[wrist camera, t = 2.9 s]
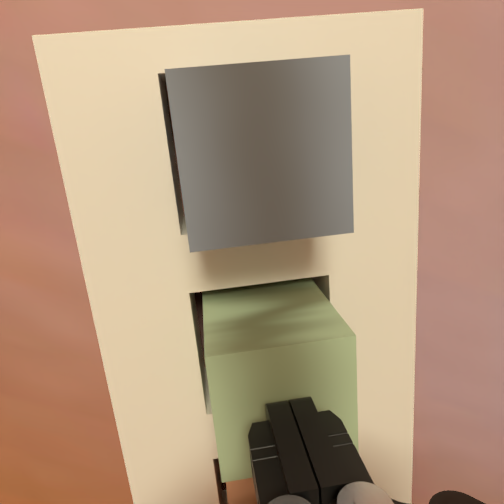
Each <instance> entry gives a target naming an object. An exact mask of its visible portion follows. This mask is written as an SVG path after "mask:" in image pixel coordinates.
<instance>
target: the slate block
mask: <svg viewBox="0 0 504 504" xmlns="http://www.w3.org/2000/svg"><path fill="white" fill-rule="evenodd" d="M164 70H165V77H166V84H167V91H168V98H169V106H170V113H171V120H172V127H173V134H174V142H175V149H176V156H177V163H178V170H179V178H180V185H181V192H182V199H183V206H184V214H185V221H186V228H187V235H188V243H189V250H190V253H191V252H199V251H207V250H215V249H223V248H232V247H240V246H248V245H256V244H265V243H273V242H281V241H289V240H298V239H306V238H314V237H322V236H330V235H339V234H347V233H354V215H353V168H352V121H351V74H350V54H349V55H337V56H324V57H311V58H299V59H286V60H273V61H261V62H248V63H235V64H223V65H210V66H198V67H185V68H172V69H164Z"/></svg>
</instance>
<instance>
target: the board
mask: <svg viewBox="0 0 504 504" xmlns="http://www.w3.org/2000/svg"><path fill="white" fill-rule="evenodd" d="M32 39H33V44H34V48H35V53H36V58H37V62H38V67H39V71H40V76H41V81H42V85H43V90H44V94H45V99H46V103H47V108H48V113H49V117H50V122H51V126H52V131H53V136H54V140H55V145H56V149H57V154H58V158H59V163H60V168H61V172H62V177H63V181H64V186H65V191H66V195H67V200H68V204H69V209H70V214H71V218H72V223H73V227H74V232H75V236H76V241H77V246H78V250H79V255H80V259H81V264H82V269H83V273H84V278H85V282H86V287H87V291H88V296H89V301H90V305H91V310H92V314H93V319H94V324H95V328H96V333H97V337H98V342H99V347H100V351H101V356H102V360H103V365H104V369H105V374H106V379H107V383H108V388H109V392H110V397H111V402H112V406H113V411H114V415H115V420H116V424H117V429H118V434H119V438H120V443H121V447H122V452H123V457H124V461H125V466H126V470H127V475H128V480H129V484H130V489H131V493H132V498H133V502H134V504H228V501H227V490H222V486H221V479H220V472H219V465H218V452H217V444H216V437H215V430H214V423H213V415H212V408H211V401H210V394H209V387H208V379H207V372H206V368H205V364H204V357H203V350H202V343H201V336H200V328H199V321H198V314H197V307H196V300H195V292H202V291H210V290H217V289H225V288H233V287H240V286H248V285H256V284H263V283H271V282H279V281H286V280H294V279H302V278H309V277H311V279H312V280H313V281H314V283H315V284H316V285H317V286H318V288H319V289H320V290H321V291H322V293H323V294H324V295H325V297H326V298H327V299H328V300H329V302H330V303H331V304H332V305H333V307H334V308H335V309H336V311H337V312H338V313H339V314H340V316H341V317H342V318H343V319H344V321H345V322H346V323H347V325H348V326H349V327H350V328H351V330H352V331H353V332H354V333H355V335H356V357H357V404H358V451H359V455H360V457H361V459H362V461H363V463H364V465H365V467H366V469H367V471H368V473H369V475H370V477H371V479H372V481H373V482H374V484H375V485H377V486H379V487H380V488H382V489H383V490H384V491H385V492H386V493H387V494H388V495H389V496H390V498H391V499H394V500H396V501H399V502H402V503H408V504H412V463H413V421H414V380H415V338H416V297H417V255H418V213H419V172H420V130H421V88H422V47H423V8H420V9H406V10H391V11H377V12H362V13H348V14H333V15H319V16H305V17H290V18H276V19H261V20H247V21H232V22H218V23H204V24H189V25H175V26H160V27H146V28H131V29H117V30H103V31H88V32H74V33H59V34H45V35H32ZM349 54H350V74H351V121H352V168H353V215H354V233H347V234H339V235H330V236H322V237H314V238H306V239H298V240H289V241H281V242H273V243H265V244H256V245H248V246H240V247H232V248H223V249H215V250H207V251H199V252H191V253H190V250H189V243H188V235H187V228H186V221H185V216H184V214H183V207H182V199H181V192H180V185H179V178H178V171H177V164H176V156H175V149H174V142H173V135H172V128H171V121H170V113H169V106H168V99H167V92H166V86H167V84H166V77H165V70H164V69H172V68H185V67H198V66H210V65H223V64H235V63H248V62H261V61H273V60H286V59H299V58H311V57H324V56H337V55H349Z"/></svg>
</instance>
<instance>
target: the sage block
mask: <svg viewBox="0 0 504 504" xmlns="http://www.w3.org/2000/svg"><path fill="white" fill-rule="evenodd" d="M202 299H203V329H204V358H205V365H206V372H207V379H208V387H209V394H210V401H211V408H212V415H213V423H214V430H215V437H216V444H217V452H218V459H219V466H220V473H221V480H222V483H224V482H230V481H236V480H241V479H247V478H253V477H252V469H251V460H250V451H249V442H248V433H249V431H250V428H251V425H252V423H255V422H261V421H266V410H265V404H267V403H273V402H279V401H285V400H287V401H288V400H291V399H297V398H303V397H311V398H312V400H313V402H314V404H315V407H316V409H317V411H318V412H320V411H326V410H330V411H331V412H333V413H334V414H335V415H336V416H338V417H339V418H340V419H341V420H342V422H343V424H344V426H345V428H346V430H347V432H348V434H349V436H350V438H351V440H352V442H353V444H354V445H355V447H356V449H357V451H358V404H357V357H356V335H355V333H354V332H353V331H352V330H351V328H350V327H349V326H348V325H347V323H346V322H345V321H344V319H343V318H342V317H341V316H340V314H339V313H338V312H337V311H336V309H335V308H334V307H333V305H332V304H331V303H330V302H329V300H328V299H327V298H326V297H325V295H324V294H323V293H322V291H321V290H320V289H319V288H318V286H317V285H316V284H315V283H314V281H313V280H312V279H311V277H309V278H302V279H294V280H286V281H279V282H271V283H263V284H256V285H248V286H240V287H233V288H225V289H217V290H210V291H202ZM358 453H359V451H358Z"/></svg>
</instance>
